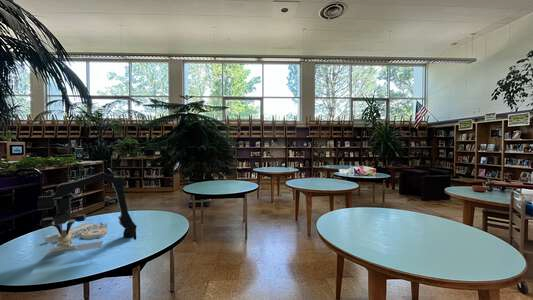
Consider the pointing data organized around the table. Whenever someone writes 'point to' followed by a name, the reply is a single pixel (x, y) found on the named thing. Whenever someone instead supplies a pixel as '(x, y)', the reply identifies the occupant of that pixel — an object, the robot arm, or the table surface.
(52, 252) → the wall board
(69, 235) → the cabinet block
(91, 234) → the sign
